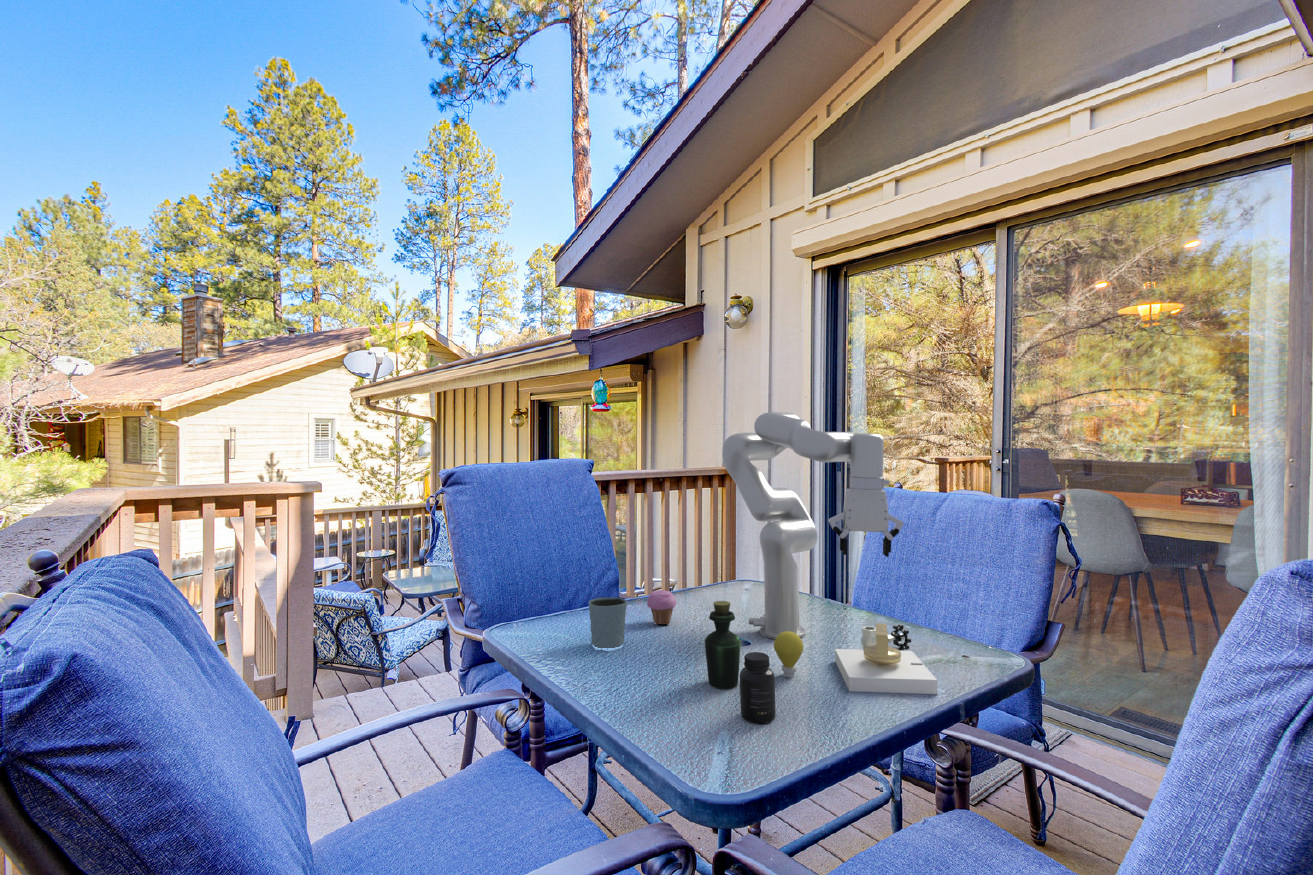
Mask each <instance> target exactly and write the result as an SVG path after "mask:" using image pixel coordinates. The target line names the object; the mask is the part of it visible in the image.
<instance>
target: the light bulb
mask: <svg viewBox="0 0 1313 875" xmlns="http://www.w3.org/2000/svg"><path fill="white" fill-rule="evenodd" d="M773 649H774V652H775V653H776V655H777V657H778V660H780V662H781V663H782V665H781V671H782V672H783V676H784V677H786V678H794V677H795V673H796V672H797V666H796V664H797V663H798V661H799V660H800V658H801V656H802V654H803V651H804V642H803V640H802V637H801V638H800V637H799V636H798V635H797V634H795V633H793V632H790V631H785V632H782V633H780V634H779V635H778V636H777V637H776V639H774V641H773Z"/></svg>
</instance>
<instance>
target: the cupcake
mask: <svg viewBox="0 0 1313 875" xmlns="http://www.w3.org/2000/svg"><path fill="white" fill-rule="evenodd" d="M676 604H677V601H676V597H675V595H674V594H673V593H672V592H670V591H668V590H662V589H659V590H655V591H652V592H651V593H650V594H649V596H648V597H647V603H646V606H647V607H648V608H649V609H650V611H651V615H652V620H653V624H655V623H656V624H655V625H657V624H669V623H670V624H671V619H672V616H673V611H674V608H675V607H676ZM670 624H669V625H670Z"/></svg>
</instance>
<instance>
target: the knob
mask: <svg viewBox="0 0 1313 875" xmlns="http://www.w3.org/2000/svg"><path fill="white" fill-rule="evenodd" d="M875 628H876V645H871V646H867V647H865V648H864V658H865V659H867V660H869V661H872V662H875V663H878V664H895V663H898V662H900V661H901V652H900V651H901V650H899V649H898V648H897V647H896V648H895V647H893V646H889V643H888V635H889V634H888V624H887V623H881V622H875Z"/></svg>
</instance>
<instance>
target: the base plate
mask: <svg viewBox="0 0 1313 875" xmlns="http://www.w3.org/2000/svg"><path fill="white" fill-rule="evenodd" d="M899 651H900V652H901V661H900V662H898V663H895V664H878V663H875V662H872V661H869V660H867V659H865V658H864V650H863V649H856V648H854V649H852V648H851V649H850V648H849V649H848V648H847V649H846V648H834V653H835V655H834V658H835V659H834V660H835V661H834V662H835V663H836V666H837V667H838V670H839V672H840V675H841V676H842V679H843V681H844V683H845V685H846V686H847V689H848V691H849V692H856V693H858V692H859V693H860V692H862V693H863V692H864V693H865V692H866V693H886V694H889V693H891V694H915V695H916V694H917V695H918V694H923V695H938V679H937V678H936V677H935V676H934V675H933V673H932V672H931V671H930V670H929V669H928V667H927V666H926V665H925V664H924V663H923V662H922V661H921V659H920V658H918V656H917V655H916V654H915V652H914V651H912V650H899Z"/></svg>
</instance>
